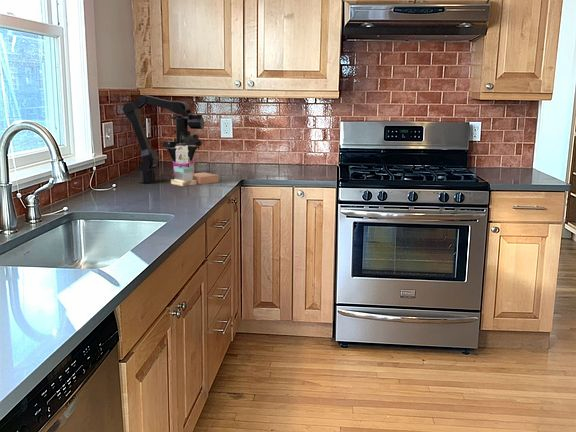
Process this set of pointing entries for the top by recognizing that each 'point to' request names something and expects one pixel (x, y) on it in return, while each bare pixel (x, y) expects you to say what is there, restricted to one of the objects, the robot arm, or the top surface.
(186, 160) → the candy bar box
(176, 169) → the housing cover
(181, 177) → the housing base
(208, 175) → the terracotta riser
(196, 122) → the robot arm
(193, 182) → the birch board
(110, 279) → the top surface
